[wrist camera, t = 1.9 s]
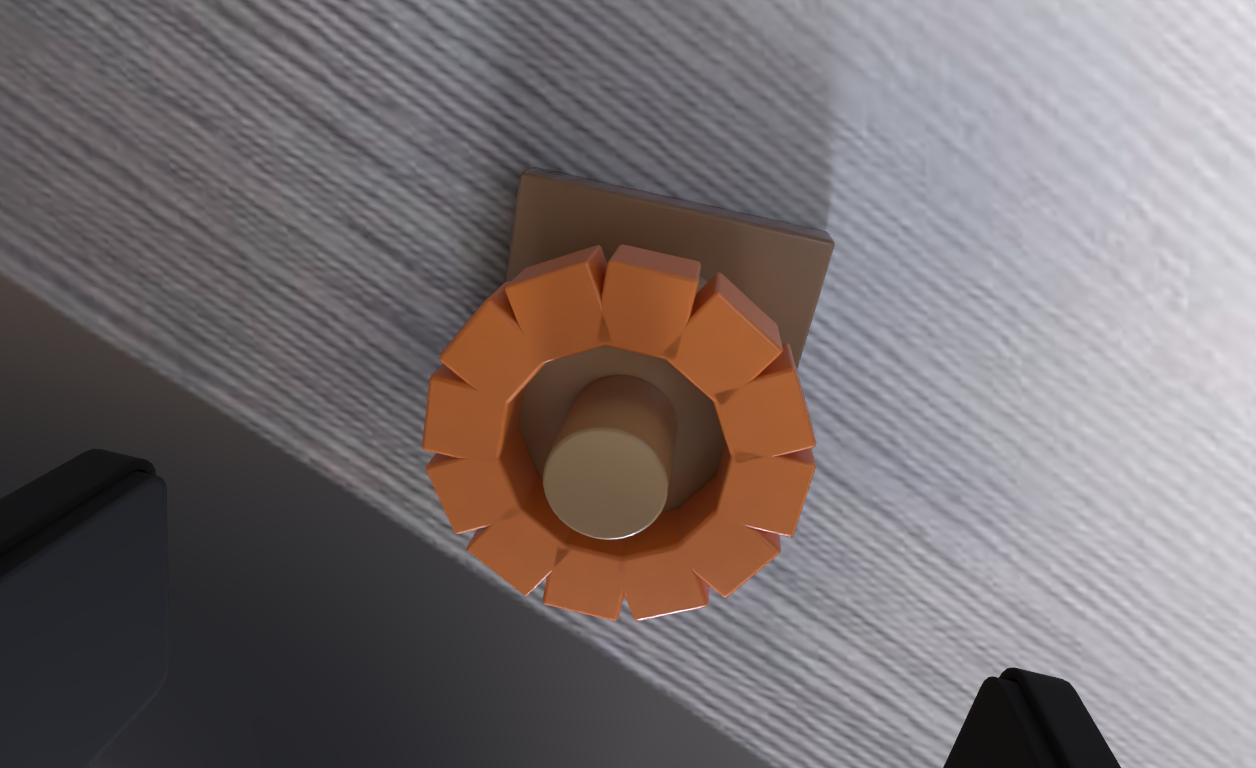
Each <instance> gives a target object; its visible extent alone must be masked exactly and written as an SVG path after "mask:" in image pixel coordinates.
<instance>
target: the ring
mask: <svg viewBox="0 0 1256 768" xmlns="http://www.w3.org/2000/svg"><path fill="white" fill-rule="evenodd" d="M700 269H701V264H700V262H698V261H695V260H690V259H686V258H681V257H677V256H673V255H668V254H664V253H659V252H655V251H650V250H646V249H641V248H637V247H632V246H628V245H623V244H622V245H619V247H618V248H617V250H616V251H615V253H614V254H613V256H612V257H611V259H610V260H609V262H608V263H607V262H606V259H605V256H604V253H603V250H602V247H601V246H600V245H596V246H593V247H590V248H586V249H583V250H580V251H577V252H574V253H571V254H568V255H564V256H561V257H558V258H555V259H552V260H549V261H546V262H543V263H539V264H536V265H533V266H530V267H527V268H525V269H524V270H523V271H522V272H521V273H520V274H519V275H518V276H516V277H515V278H514V279H513V280H512V281H511V282H510V281H507V282H505V283H504V284H503V285H502V286H501V287H499V288H498V289H497V290H496V291H495V292H494V293H493V294H492V295H491V296H489V297H488V298H487V299H486V300H485V301H484V302H483V303H482V305H481V306H480V307H479V308H478V309H477V311H476V312H475V313H474V314H473V315H472V317H471V318H470V319H469V320H468V321H467V323H466V324H465V325H464V326H463V327H462V329H461V330H460V331H459V332H458V333H457V335H456V336H455V337H454V338H453V339H452V341H451V342H450V343H449V344H448V345H447V346H446V348H445V349H444V350H443V351H442V352H441V354H440V357H439V359H440V361H441V362H442V363H443V364H442V365H441V366H440V367H439V368H438V369H437V370H436V371H435V372H434V373H433V374H432V375H431V377H430V381H429V390H428V398H427V407H426V416H425V425H424V434H423V443H422V447H423V449H424V450H426V451H431V452H435V453H436V454H435V456H434V457H433V458H432V459H431V461H430V462H429V463H428V465H427V466H426V471H427V473H428V475H429V478H430V480H431V482H432V484H433V486H434V488H435V491H436V493H437V495H438V497H439V499H440V502H441V504H442V506H443V508H444V510H445V513H446V515H447V517H448V519H449V521H450V524H451V526H452V528H453V530H454V532H455V533H456V534H460V533H464V532H468V531H472V530H476V529H477V531H476V532H475V534H474V536H473V538H472V539H471V541H470V543H469V545H468V547H467V550H468V551H469V552H470V553H472V554H473V555H474V556H475V557H477V558H478V559H479V560H480V561H482V562H483V563H484V564H485V565H487V566H488V567H489V568H490V569H492V570H493V571H494V572H495V573H497V574H498V575H499V576H501V577H502V578H503V579H504V580H506V581H507V582H508V583H509V584H511V585H512V586H513V587H514V588H516V589H517V590H518V591H519V592H521V593H522V594H523V595H525V596H527V595H528V594H529V593H530V592H531V591H533V590H534V589H535V588H536V587H537V586H538V585H539V584H540V583H541V582H542V581H543V580H544V579H545V578H546V577H547V580H546V586H545V591H544V596H543V601H544V604H546V605H550V606H554V607H558V608H562V609H566V610H571V611H575V612H579V613H583V614H587V615H591V616H595V617H599V618H604V619H608V620H612V621H616V620H617V619H618V617H619V614H620V609H621V605H622V601H623V597H624V594H625V597H626V599H627V602H628V604H629V607H630V610H631V612H632V615H633V617H634V619H635V620H636V621H641V620H646V619H651V618H656V617H660V616H665V615H670V614H675V613H680V612H685V611H690V610H694V609H699V608H704V607H706V606H707V605H708V601H709V586H711V587H712V588H713V589H714V590H715V591H717V592H718V593H719V594H720V595H721V596H723V597H728V596H729V595H730V594H732V593H733V592H734V591H735V590H736V589H738V588H739V587H740V586H741V585H742V584H744V583H745V582H746V581H747V580H748V579H750V578H751V577H752V576H753V575H754V574H756V573H757V572H758V571H759V570H760V569H762V568H763V567H764V566H765V565H766V564H768V563H769V562H770V561H771V560H772V559H774V558H775V557H776V556H777V555H778V554H779V553H780V551H781V545H780V536H779V534H780V535H784V536H788V537H792V536H793V535H794V533H795V529H796V526H797V523H798V520H799V517H800V514H801V511H802V508H803V505H804V502H805V499H806V496H807V493H808V490H809V487H810V483H811V480H812V477H813V474H814V471H815V468H816V465H815V460H814V456H813V452H812V448H813V447H815V446H816V440H815V436H814V432H813V428H812V424H811V420H810V416H809V412H808V408H807V405H806V401H805V398H804V394H803V390H802V387H801V383H800V380H799V376H798V373H797V369H796V365H795V362H794V358H793V355H792V351H791V348H790V345H789V344H788V343H784V344H782V343H781V339H780V334H779V329H778V326H777V324H776V323H775V322H774V321H773V320H772V319H771V318H769V317H768V316H767V315H766V314H765V313H764V312H763V311H762V310H761V309H760V308H759V307H757V306H756V305H755V304H754V303H753V302H752V301H751V300H750V299H749V298H748V297H747V296H746V295H744V294H743V293H742V292H741V291H740V290H739V289H738V288H737V287H736V286H735V285H734V284H733V283H731V282H730V281H729V280H728V279H727V278H726V277H725V276H724V275H723V274H722V273H719V272H718V273H716V274H715V275H714V276H713V277H712V278H711V279H710V280H709V281H708V282H707V283H706V284H705V285H704V286H703V287H702V288H701V289H700V290H699V291H698V293H697V294H696V292H697V288H698V283H699V276H700ZM603 346H608V347H613V348H617V349H622V350H626V351H630V352H635V353H639V354H643V355H648V356H652V357H656V358H661V359H665V360H667V361H668V362H670V363H671V364H672V365H673V366H674V367H675V368H676V369H677V370H679V371H680V372H681V373H682V374H683V375H684V376H685V377H686V378H688V379H689V380H690V381H691V382H692V383H693V384H694V385H696V386H697V387H698V388H699V389H700V390H701V391H702V392H703V393H705V394H706V395H707V396H708V397H709V398H710V399H711V400H712V401H713V402H714V406H715V409H716V412H717V415H718V418H719V421H720V424H721V428H722V431H723V434H724V437H725V440H726V442H725V445H724V449H723V453H722V456H721V460H720V464H719V467H718V471H717V475H716V476H714V477H713V478H712V479H711V480H710V481H709V482H708V483H707V484H706V485H705V486H704V487H702V488H701V489H700V490H699V491H698V492H697V493H696V494H695V495H694V496H693V497H692V498H690V499H689V500H688V501H687V502H686V503H685V504H684V505H683V506H682V507H681V508H678V509H674V510H670V511H666V512H662V513H660V515H659V516H658V517H657V519H656V520H655V521H654V522H653V523H652V524H651V525H650V526H648V527H647V528H646V529H644V530H642V531H641V532H639V533H637V534H635V535H632V536H629V537H626V538H621V539H612V540H607V539H598V538H593V537H589V536H586V535H583V534H581V533H579V532H577V531H575V530H573V529H572V528H570V527H569V526H567V525H566V524H565V523H564V522H563V521H562V520H560V519H559V517H558V516H557V515H556V514H555V513H554V511H553V510H552V508H551V507H550V505H549V502H548V500H547V498H546V495H545V492H544V487H543V477H541V476H540V475H539V474H538V473H537V472H536V469H535V467H534V464H533V462H532V459H531V457H530V455H529V452H528V450H527V447H526V445H525V442H524V440H523V437H522V435H521V432H520V430H519V422H520V416H521V409H522V403H523V397H524V391H525V386H526V385H527V384H528V382H529V381H530V380H531V379H532V378H533V377H534V376H535V375H536V374H537V373H538V371H539V370H540V369H541V368H542V367H543V366H544V365H545V364H546V363H548V362H551V361H555V360H558V359H561V358H565V357H568V356H572V355H575V354H579V353H582V352H586V351H589V350H593V349H596V348H600V347H603Z"/></svg>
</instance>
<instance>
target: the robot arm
mask: <svg viewBox="0 0 1256 768" xmlns="http://www.w3.org/2000/svg"><path fill="white" fill-rule="evenodd" d="M167 534H168V532H167V489H166V483H165V482H164V480H163V479H162V478H161V477H159V476H156V471H155V468H154V467H153V465H152V463H150V462H149V461H147V460H145V459H140V458H136V457H132V456H128V455H124V454H119V453H115V452H111V451H107V450H103V449H91V450H89V451H86V452H84V453H82V454H80V455H78V456H77V457H75V458H73V459H71V460H69V461H68V462H66V463H64V464H62V465H60V466H59V467H57V468H55V469H53V470H51V471H50V472H48V473H46V474H44V475H43V476H41V477H39V478H37V479H36V480H34V481H32V482H30V483H28V484H27V485H25V486H23V487H21V488H19V489H18V490H16V491H14V492H12V493H10V494H9V495H7V496H5V497H3V498H2V499H0V768H88V767H89V766H90V765H91V764H92V763H93V762H94V761H95V760H96V759H97V758H98V757H99V755H100V754H101V753H102V752H103V751H104V750H105V749H106V748H107V747H108V746H109V745H110V744H111V743H112V742H113V741H114V740H115V739H116V738H117V736H118V735H119V734H120V733H121V732H122V731H123V730H124V729H125V728H126V727H127V726H128V725H129V724H130V723H131V722H132V721H133V719H134V718H135V717H136V716H137V715H138V714H139V713H140V712H141V711H142V710H143V709H144V708H145V707H146V706H147V705H148V704H149V702H150V701H151V700H152V699H153V698H154V697H155V696H156V695H157V693H158V692H159V690H160V689H161V687H162V685H163V683H164V681H165V679H166V676H167V673H168V669H169V662H170V661H169V660H170V657H169V594H168V536H167ZM943 768H1121V767H1120V765H1119V763H1118V762H1117V760H1116V758H1115V757H1114V755H1113V753H1112V752H1111V750H1110V748H1109V746H1108V745H1107V743H1106V741H1105V740H1104V738H1103V736H1102V735H1101V733H1100V731H1099V729H1098V728H1097V726H1096V724H1095V723H1094V721H1093V719H1092V718H1091V716H1090V714H1089V712H1088V711H1087V709H1086V707H1085V706H1084V704H1083V702H1082V701H1081V699H1080V697H1079V695H1078V694H1077V692H1076V690H1075V689H1074V688H1073V687H1072V685H1071V684H1070V683H1069V682H1067V681H1065V680H1063V679H1060V678H1056V677H1051V676H1047V675H1043V674H1039V673H1035V672H1031V671H1026V670H1022V669H1018V668H1007V669H1006V670H1005V671H1004V672H1002V674H1001V675H1000V677H999V678H997V677H988V678H987V679H986V680H985V681H984V682H983V684H982V686H981V687H980V689H979V692H978V694H977V696H976V698H975V700H974V702H973V705H972V707H971V709H970V711H969V713H968V715H967V718H966V720H965V722H964V724H963V726H962V728H961V731H960V733H959V735H958V737H957V739H956V741H955V744H954V746H953V748H952V750H951V752H950V754H949V757H948V759H947V761H946V763H945V765H944V767H943Z"/></svg>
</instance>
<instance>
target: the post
mask: <svg viewBox="0 0 1256 768" xmlns="http://www.w3.org/2000/svg"><path fill="white" fill-rule="evenodd" d="M622 244H623V245H628V246H632V247H637V248H641V249H646V250H650V251H655V252H659V253H664V254H668V255H673V256H677V257H681V258H686V259H690V260H695V261H698V262H700V264H701V269H700V276H699V283H698V288H697V292H696V294H697V293H698V291H699V290H700V289H701V288H702V287H703V286H704V285H705V284H706V283H707V282H708V281H709V280H710V279H711V278H712V277H713V276H714V275H715V274H716V273H718V272H719V273H722V274H723V275H724V276H725V277H726V278H727V279H728V280H729V281H730V282H731V283H733V284H734V285H735V286H736V287H737V288H738V289H739V290H740V291H741V292H742V293H743V294H744V295H746V296H747V297H748V298H749V299H750V300H751V301H752V302H753V303H754V304H755V305H756V306H757V307H759V308H760V309H761V310H762V311H763V312H764V313H765V314H766V315H767V316H768V317H769V318H771V319H772V320H773V321H774V322H775V323H776V324H777V326H778V329H779V334H780V339H781V343H782V344H784V343H788V344H789V345H790V348H791V351H792V355H793V358H794V362H795V365H796V369H797V368H798V365H799V362H800V358H801V355H802V352H803V348H804V345H805V342H806V338H807V335H808V332H809V328H810V325H811V322H812V318H813V315H814V312H815V308H816V305H817V302H818V298H819V295H820V292H821V288H822V285H823V282H824V278H825V275H826V272H827V269H828V265H829V262H830V259H831V255H832V252H833V249H834V241H833V239H832V238H831V236H830V235H829V234H828V233H827V232H825V231H821V230H816V229H812V228H807V227H803V226H798V225H793V224H789V223H784V222H780V221H775V220H771V219H766V218H762V217H757V216H753V215H748V214H744V213H739V212H735V211H730V210H726V209H721V208H717V207H712V206H708V205H703V204H699V203H694V202H689V201H685V200H680V199H676V198H671V197H667V196H662V195H658V194H653V193H649V192H644V191H640V190H635V189H631V188H626V187H622V186H617V185H613V184H608V183H604V182H599V181H595V180H590V179H585V178H581V177H576V176H572V175H567V174H563V173H558V172H554V171H549V170H545V169H540V168H532V169H529V170H527V171H525V172H522V174H521V175H520V181H519V188H518V195H517V202H516V209H515V216H514V223H513V230H512V236H511V243H510V250H509V257H508V264H507V271H506V278H505V282H507V281H510V282H511V281H512V280H513V279H514V278H515V277H516V276H518V275H519V274H520V273H521V272H522V271H523V270H524V269H525V268H527V267H530V266H533V265H536V264H539V263H543V262H546V261H549V260H552V259H555V258H558V257H561V256H564V255H568V254H571V253H574V252H577V251H580V250H583V249H586V248H590V247H593V246H596V245H600V246H601V247H602V250H603V253H604V256H605V259H606V262H607V263H608V262H609V260H610V259H611V257H612V256H613V254H614V253H615V251H616V250H617V248H618V247H619V245H622ZM519 430H520V432H521V435H522V437H523V440H524V442H525V445H526V447H527V450H528V452H529V455H530V457H531V459H532V462H533V464H534V467H535V469H536V472H537V473H538V474H539V475H540V476H541V477H543V487H544V492H545V495H546V498H547V500H548V502H549V505H550V507H551V508H552V510H553V511H554V513H555V514H556V515H557V516H558V517H559V519H560V520H562V521H563V522H564V523H565V524H566V525H567V526H569V527H570V528H572V529H573V530H575V531H577V532H579V533H581V534H583V535H586V536H589V537H593V538H598V539H607V540H612V539H621V538H626V537H629V536H632V535H635V534H637V533H639V532H641V531H642V530H644V529H646V528H647V527H648V526H650V525H651V524H652V523H653V522H654V521H655V520H656V519H657V517H658V516H659V515H660V513H662V512H666V511H670V510H674V509H678V508H681V507H682V506H683V505H684V504H685V503H686V502H687V501H688V500H689V499H690V498H692V497H693V496H694V495H695V494H696V493H697V492H698V491H699V490H700V489H701V488H702V487H704V486H705V485H706V484H707V483H708V482H709V481H710V480H711V479H712V478H713V477H714V476H716V475H717V471H718V467H719V464H720V460H721V456H722V453H723V449H724V445H725V442H726V440H725V437H724V434H723V431H722V428H721V424H720V421H719V418H718V415H717V412H716V409H715V406H714V402H713V401H712V400H711V399H710V398H709V397H708V396H707V395H706V394H705V393H703V392H702V391H701V390H700V389H699V388H698V387H697V386H696V385H694V384H693V383H692V382H691V381H690V380H689V379H688V378H686V377H685V376H684V375H683V374H682V373H681V372H680V371H679V370H677V369H676V368H675V367H674V366H673V365H672V364H671V363H670V362H668V361H667V360H665V359H661V358H656V357H652V356H648V355H643V354H639V353H635V352H630V351H626V350H622V349H617V348H613V347H608V346H603V347H600V348H596V349H593V350H589V351H586V352H582V353H579V354H575V355H572V356H568V357H565V358H561V359H558V360H555V361H551V362H548V363H546V364H545V365H544V366H543V367H542V368H541V369H540V370H539V371H538V373H537V374H536V375H535V376H534V377H533V378H532V379H531V380H530V381H529V382H528V384H527V385H526V386H525V391H524V397H523V403H522V409H521V416H520V422H519Z"/></svg>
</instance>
